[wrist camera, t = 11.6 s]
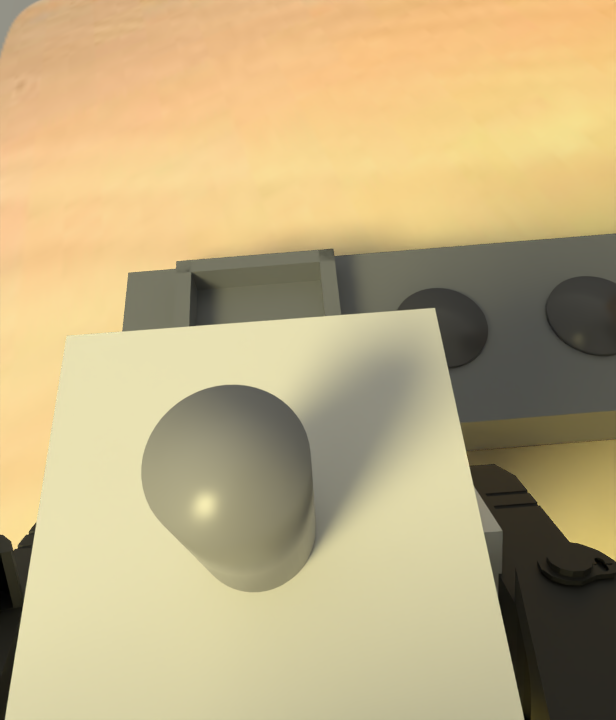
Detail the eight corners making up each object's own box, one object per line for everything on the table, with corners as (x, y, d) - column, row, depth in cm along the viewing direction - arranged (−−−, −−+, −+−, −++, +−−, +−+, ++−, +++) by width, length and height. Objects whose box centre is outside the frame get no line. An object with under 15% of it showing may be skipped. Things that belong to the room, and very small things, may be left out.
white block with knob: (376, 518, 16) (469, 183, 5) (404, 737, 13) (679, 904, 3) (210, 532, 16) (-19, 220, 5) (208, 753, 13) (-232, 979, 3)
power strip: (637, 273, 27) (684, 208, 24) (707, 431, 23) (776, 383, 20) (148, 312, 27) (119, 254, 24) (134, 477, 23) (97, 438, 20)
